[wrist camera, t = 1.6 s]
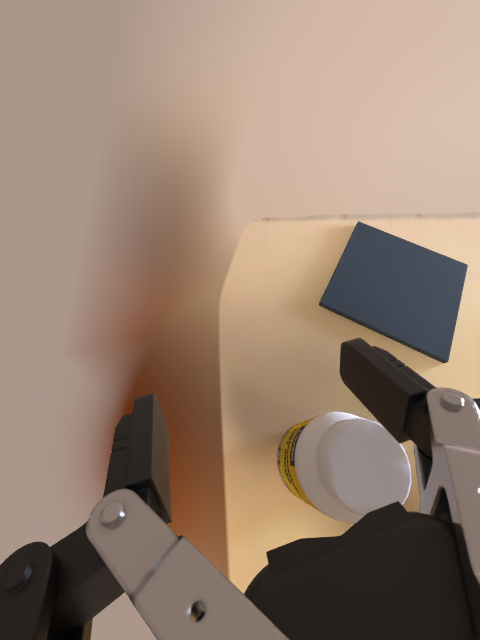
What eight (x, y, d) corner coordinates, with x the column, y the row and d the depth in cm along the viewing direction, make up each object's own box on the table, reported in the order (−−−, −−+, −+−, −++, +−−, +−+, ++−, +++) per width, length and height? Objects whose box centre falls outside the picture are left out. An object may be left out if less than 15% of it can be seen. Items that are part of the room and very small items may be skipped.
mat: (318, 305, 31) (320, 302, 31) (356, 224, 37) (358, 221, 37) (444, 363, 29) (448, 361, 28) (464, 267, 35) (467, 264, 34)
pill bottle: (271, 425, 26) (299, 406, 16) (336, 420, 26) (405, 399, 16) (279, 505, 23) (320, 543, 13) (353, 499, 23) (446, 531, 13)
